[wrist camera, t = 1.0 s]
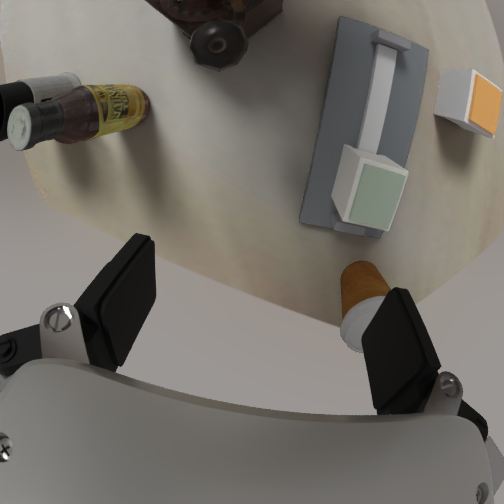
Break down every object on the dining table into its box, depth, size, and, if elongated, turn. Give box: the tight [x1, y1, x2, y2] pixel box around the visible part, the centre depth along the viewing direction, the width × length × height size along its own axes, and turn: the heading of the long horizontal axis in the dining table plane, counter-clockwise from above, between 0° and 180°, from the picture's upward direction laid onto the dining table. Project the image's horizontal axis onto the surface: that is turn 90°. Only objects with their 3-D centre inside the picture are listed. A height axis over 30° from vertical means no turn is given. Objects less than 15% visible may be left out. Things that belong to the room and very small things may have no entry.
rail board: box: [299, 16, 429, 239], centre depth 26 cm, size 28×12×10 cm, turn 172°
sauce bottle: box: [7, 85, 149, 151], centre depth 22 cm, size 7×6×20 cm
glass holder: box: [0, 72, 81, 141], centre depth 24 cm, size 9×14×15 cm, turn 58°
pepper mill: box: [145, 0, 283, 72], centre depth 17 cm, size 16×11×18 cm
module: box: [434, 69, 502, 139], centre depth 22 cm, size 7×6×8 cm
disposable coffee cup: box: [340, 261, 391, 353], centre depth 37 cm, size 10×10×12 cm
